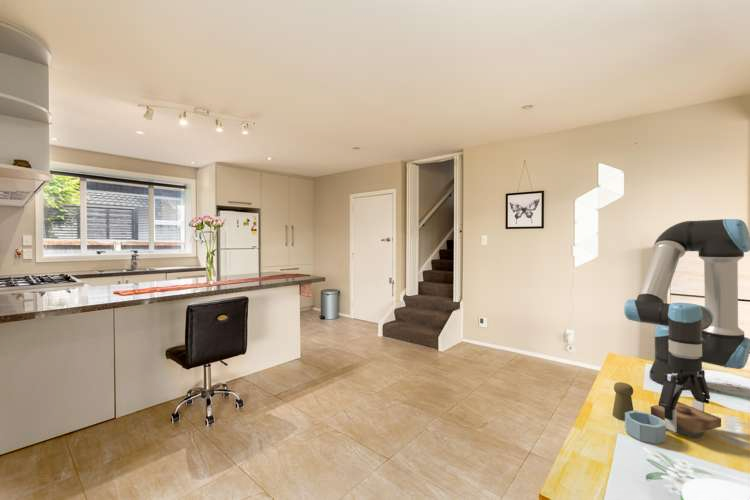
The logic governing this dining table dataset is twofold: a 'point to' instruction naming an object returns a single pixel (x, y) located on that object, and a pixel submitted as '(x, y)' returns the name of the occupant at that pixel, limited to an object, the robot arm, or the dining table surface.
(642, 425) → the bowl
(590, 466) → the dining table surface
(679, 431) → the grey flattened dome
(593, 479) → the dining table surface
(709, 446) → the dining table surface
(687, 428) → the lid
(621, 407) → the pepper shaker
